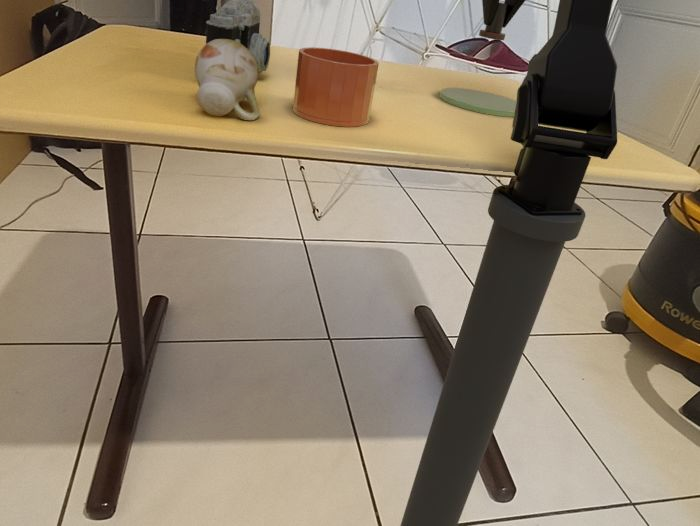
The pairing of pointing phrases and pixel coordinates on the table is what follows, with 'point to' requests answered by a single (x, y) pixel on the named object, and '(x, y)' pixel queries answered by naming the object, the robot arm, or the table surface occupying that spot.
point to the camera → (240, 29)
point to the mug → (226, 78)
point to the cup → (334, 86)
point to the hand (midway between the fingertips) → (494, 26)
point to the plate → (479, 101)
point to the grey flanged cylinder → (496, 24)
